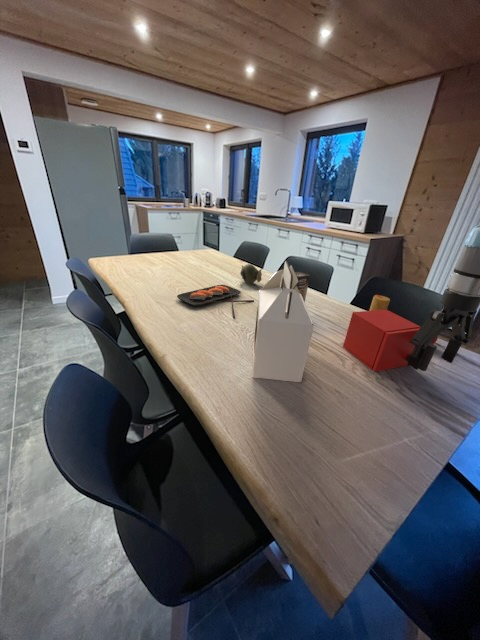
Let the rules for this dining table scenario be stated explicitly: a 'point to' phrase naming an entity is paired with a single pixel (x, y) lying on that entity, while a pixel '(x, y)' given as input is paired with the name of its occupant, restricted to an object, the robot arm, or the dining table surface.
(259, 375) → the gable box
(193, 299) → the sushi plate
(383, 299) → the yellow orange cylinder
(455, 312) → the robot arm
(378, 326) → the valve cabinet
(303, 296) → the coffee box
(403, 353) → the red drawer
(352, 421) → the dining table surface
